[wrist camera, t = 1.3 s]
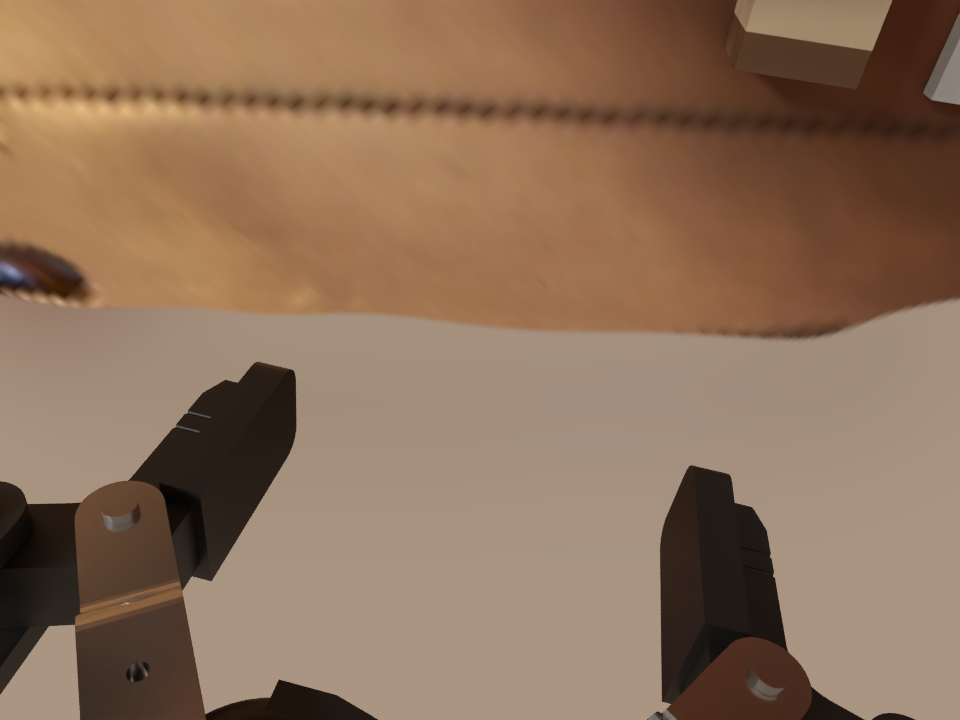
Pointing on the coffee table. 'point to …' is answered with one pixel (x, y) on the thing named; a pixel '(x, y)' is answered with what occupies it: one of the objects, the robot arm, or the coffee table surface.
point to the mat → (947, 71)
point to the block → (806, 38)
